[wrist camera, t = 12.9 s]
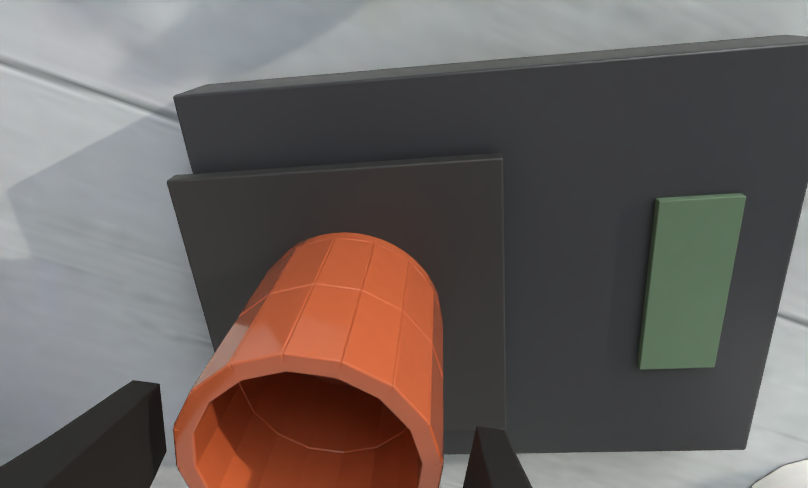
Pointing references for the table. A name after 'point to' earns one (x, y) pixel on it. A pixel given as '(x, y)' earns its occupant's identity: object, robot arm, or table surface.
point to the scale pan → (375, 216)
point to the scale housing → (586, 216)
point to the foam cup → (786, 477)
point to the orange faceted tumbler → (323, 377)
